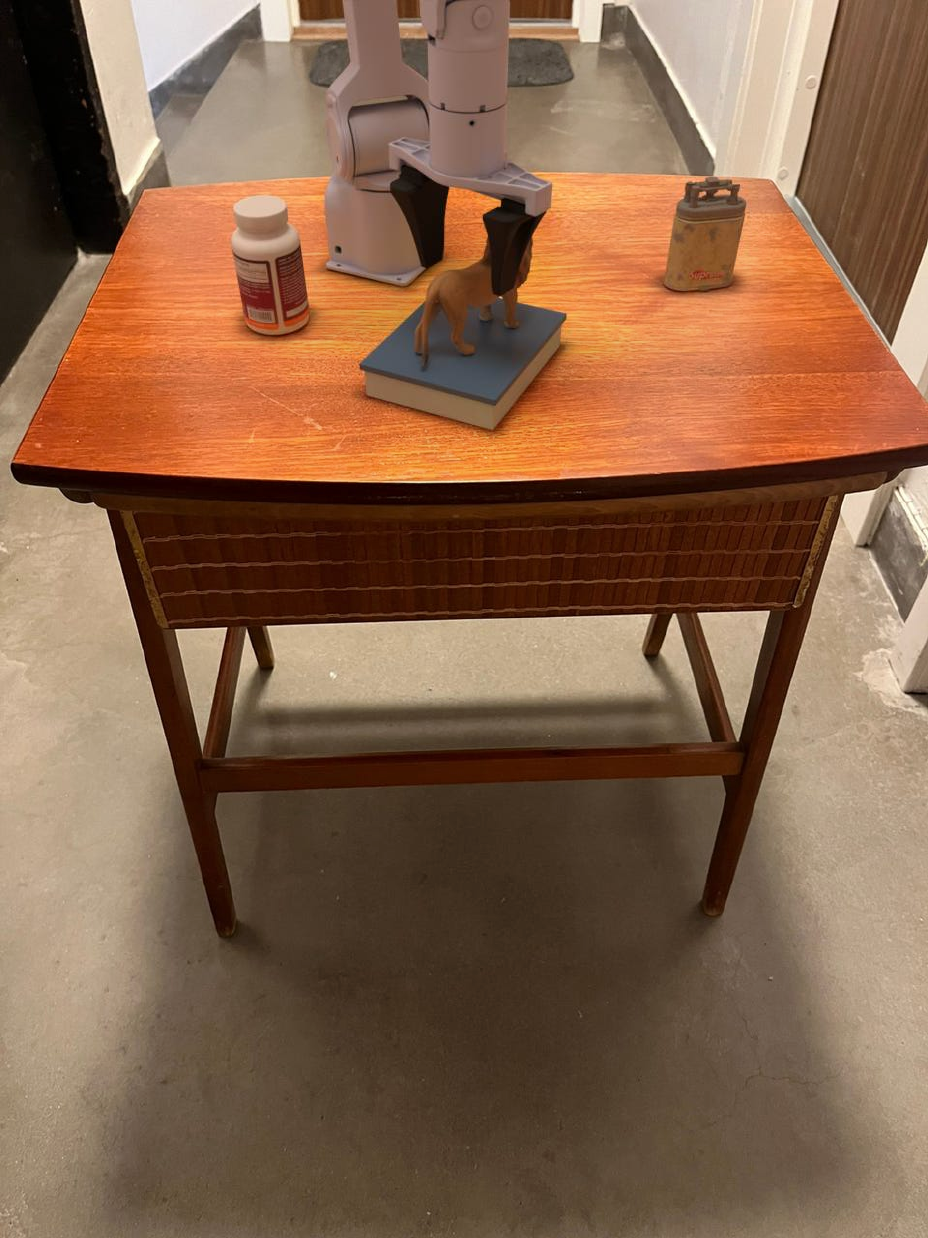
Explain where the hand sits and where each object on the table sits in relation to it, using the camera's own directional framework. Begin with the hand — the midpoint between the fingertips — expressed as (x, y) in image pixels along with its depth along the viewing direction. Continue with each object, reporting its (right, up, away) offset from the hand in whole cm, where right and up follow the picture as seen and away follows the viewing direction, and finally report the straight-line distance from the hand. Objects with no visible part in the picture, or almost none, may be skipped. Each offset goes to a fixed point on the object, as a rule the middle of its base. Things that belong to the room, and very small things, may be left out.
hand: (467, 276), depth 81 cm
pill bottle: (-18, 0, +12) cm, 22 cm away
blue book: (0, -6, +6) cm, 9 cm away
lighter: (+23, +5, +18) cm, 30 cm away
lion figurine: (+1, -3, +5) cm, 6 cm away
